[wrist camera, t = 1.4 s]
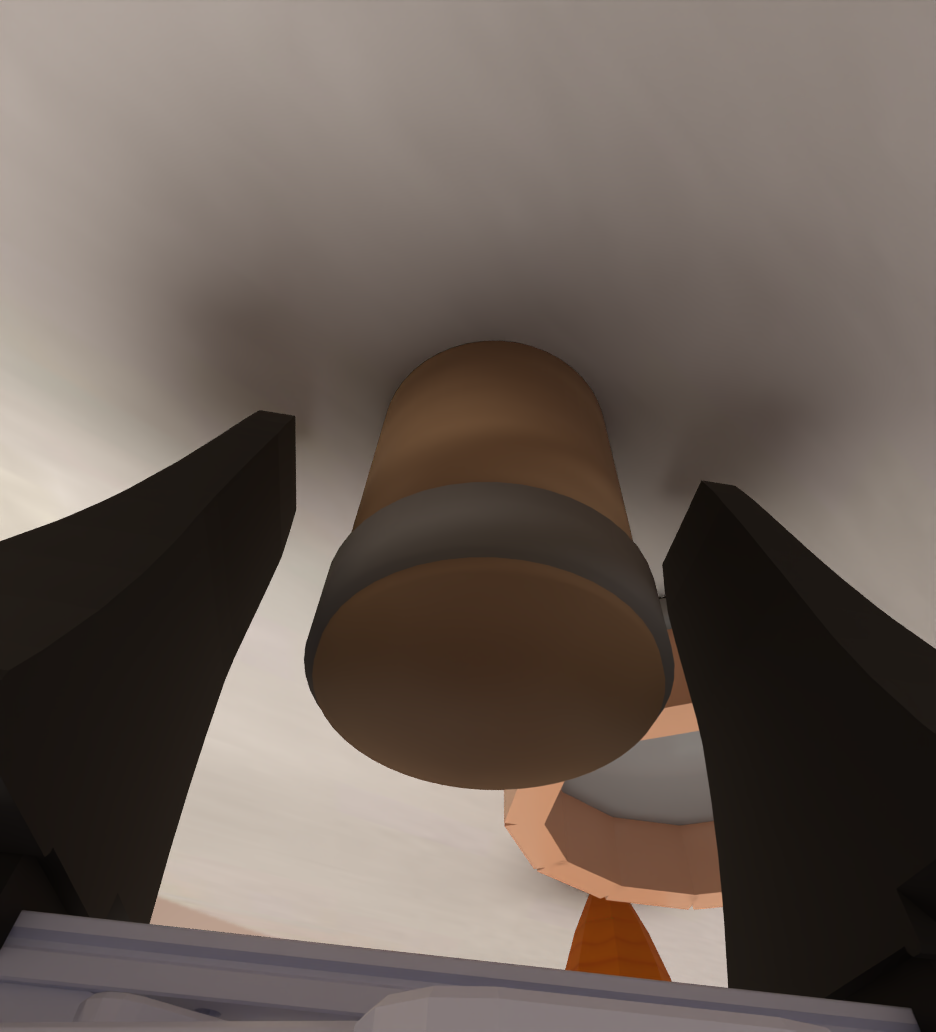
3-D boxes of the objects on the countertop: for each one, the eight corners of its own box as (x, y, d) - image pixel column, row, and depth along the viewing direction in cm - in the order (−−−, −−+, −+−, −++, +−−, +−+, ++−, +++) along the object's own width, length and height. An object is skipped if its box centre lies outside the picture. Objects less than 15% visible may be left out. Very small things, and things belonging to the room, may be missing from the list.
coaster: (979, 626, 15) (1059, 730, 13) (780, 833, 22) (812, 927, 20) (549, 563, 15) (557, 660, 12) (475, 795, 21) (472, 887, 19)
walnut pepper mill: (646, 356, 12) (742, 595, 7) (578, 550, 14) (613, 812, 10) (385, 311, 11) (298, 528, 7) (369, 519, 14) (300, 772, 9)
